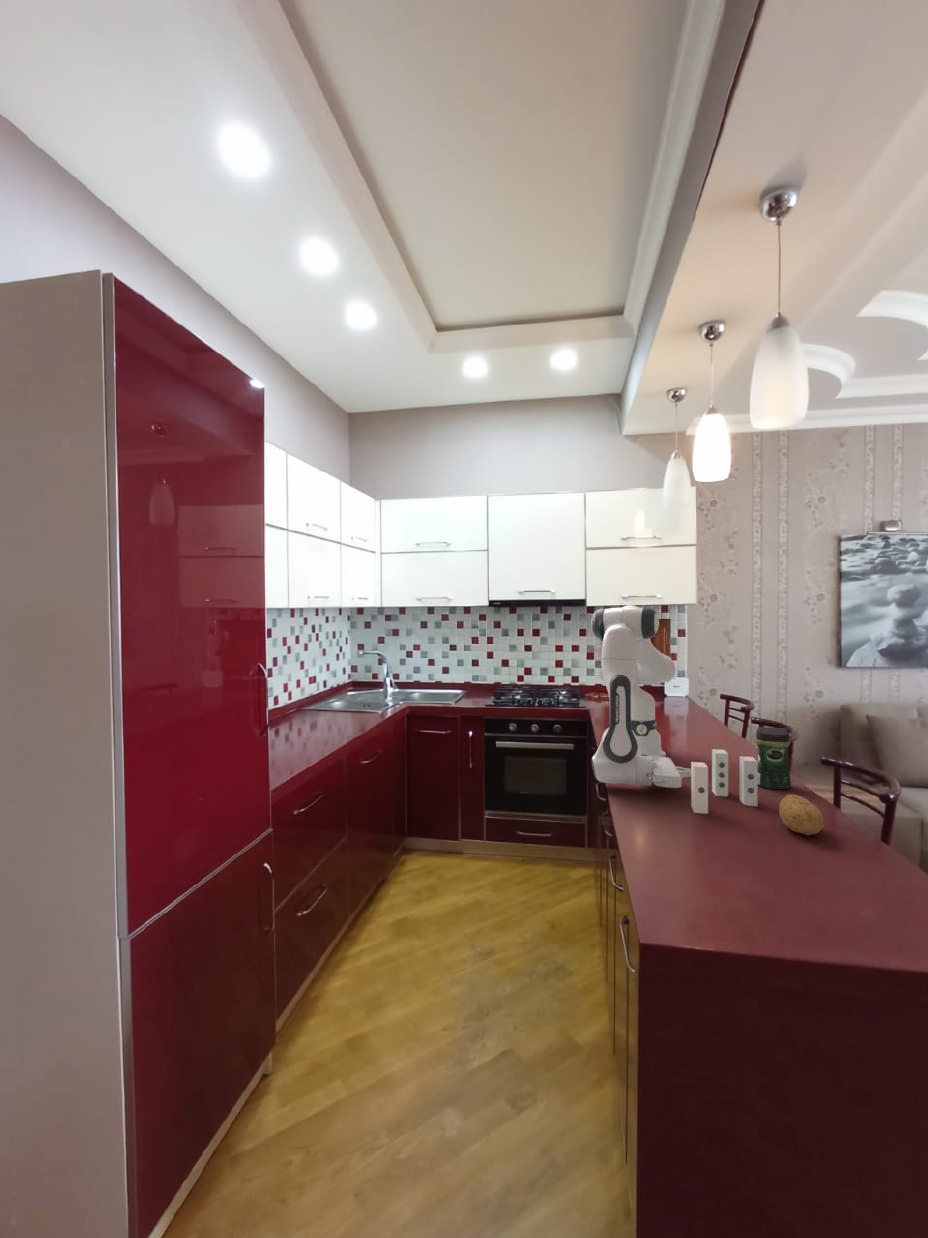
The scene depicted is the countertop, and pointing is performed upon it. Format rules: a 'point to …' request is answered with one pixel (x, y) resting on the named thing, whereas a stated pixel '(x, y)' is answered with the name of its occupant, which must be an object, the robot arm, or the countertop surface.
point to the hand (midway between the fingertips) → (691, 773)
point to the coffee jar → (773, 758)
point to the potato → (800, 815)
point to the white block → (719, 772)
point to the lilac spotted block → (748, 781)
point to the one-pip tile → (699, 787)
